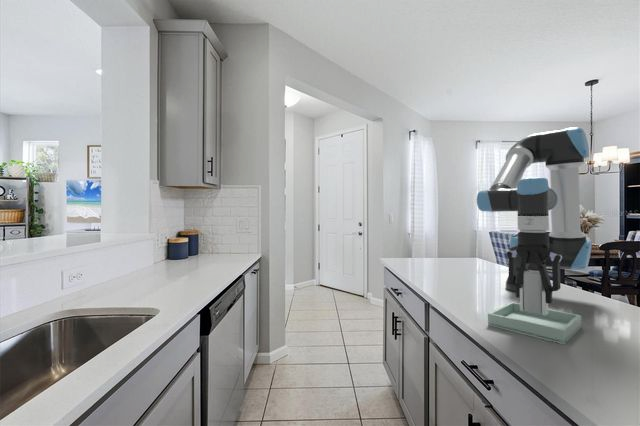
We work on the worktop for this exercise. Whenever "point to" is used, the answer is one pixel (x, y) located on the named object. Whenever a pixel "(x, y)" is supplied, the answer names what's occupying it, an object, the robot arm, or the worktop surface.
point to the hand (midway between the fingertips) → (533, 311)
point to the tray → (536, 323)
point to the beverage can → (533, 292)
